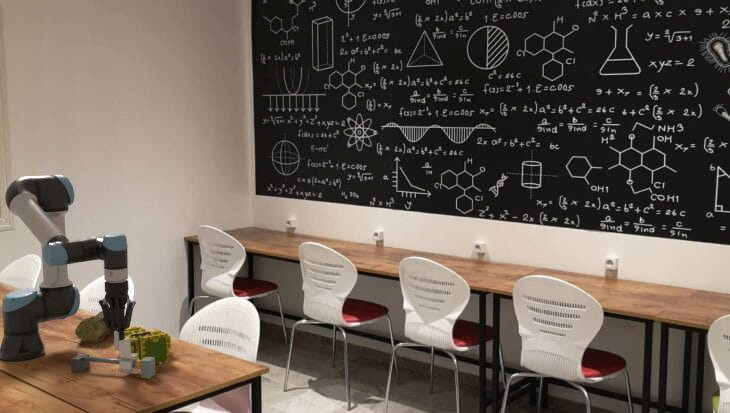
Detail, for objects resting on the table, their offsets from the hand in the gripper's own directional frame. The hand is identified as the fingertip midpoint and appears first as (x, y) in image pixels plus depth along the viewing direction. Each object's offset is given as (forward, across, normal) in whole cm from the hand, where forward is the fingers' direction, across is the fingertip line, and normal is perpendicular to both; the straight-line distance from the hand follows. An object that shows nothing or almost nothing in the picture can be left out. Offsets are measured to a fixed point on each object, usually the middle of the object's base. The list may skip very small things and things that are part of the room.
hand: (118, 348), depth 250 cm
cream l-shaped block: (+7, +4, 0) cm, 8 cm away
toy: (+9, -4, +21) cm, 23 cm away
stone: (+9, -33, +37) cm, 50 cm away
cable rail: (+9, -2, 0) cm, 9 cm away
